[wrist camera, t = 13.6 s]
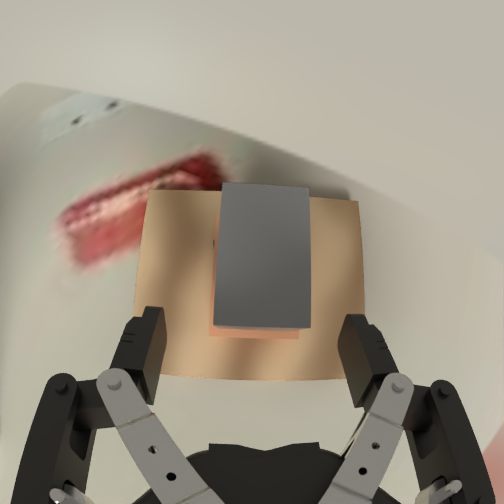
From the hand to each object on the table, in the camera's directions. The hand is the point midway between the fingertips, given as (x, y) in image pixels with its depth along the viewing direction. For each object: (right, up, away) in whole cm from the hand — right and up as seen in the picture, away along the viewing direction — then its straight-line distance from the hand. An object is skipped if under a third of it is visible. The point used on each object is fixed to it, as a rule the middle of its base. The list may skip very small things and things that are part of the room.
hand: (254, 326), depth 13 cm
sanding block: (0, +1, +9) cm, 9 cm away
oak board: (0, +1, +11) cm, 11 cm away
